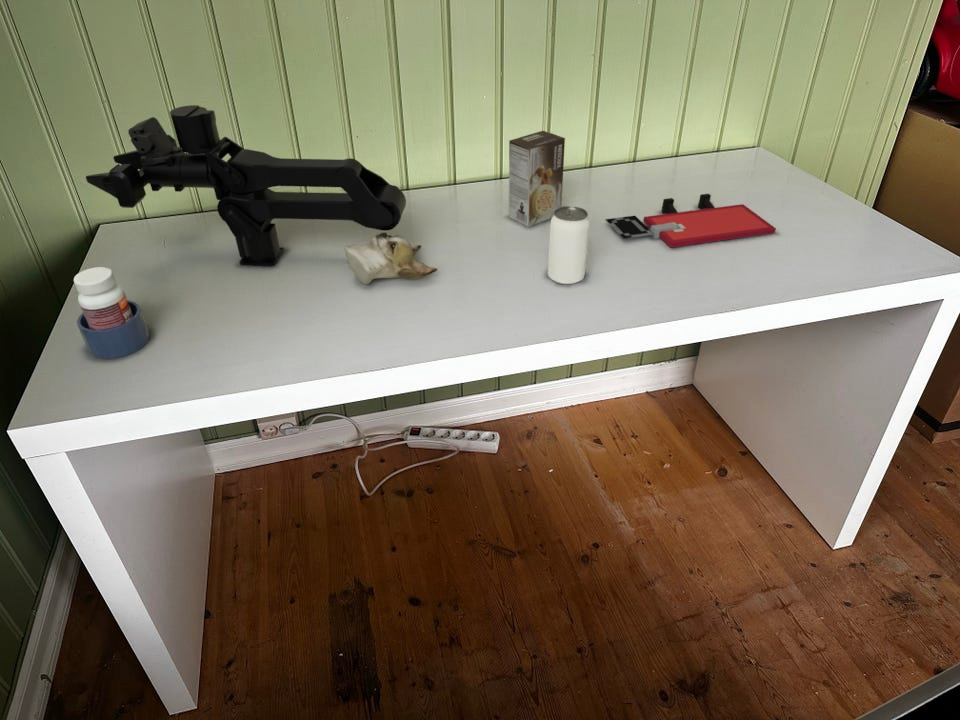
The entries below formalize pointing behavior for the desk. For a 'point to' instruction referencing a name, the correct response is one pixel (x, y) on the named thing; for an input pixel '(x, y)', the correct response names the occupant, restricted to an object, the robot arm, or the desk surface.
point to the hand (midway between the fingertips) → (101, 168)
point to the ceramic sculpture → (385, 259)
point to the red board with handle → (694, 224)
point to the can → (568, 245)
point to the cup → (116, 336)
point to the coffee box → (535, 177)
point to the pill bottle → (102, 299)
